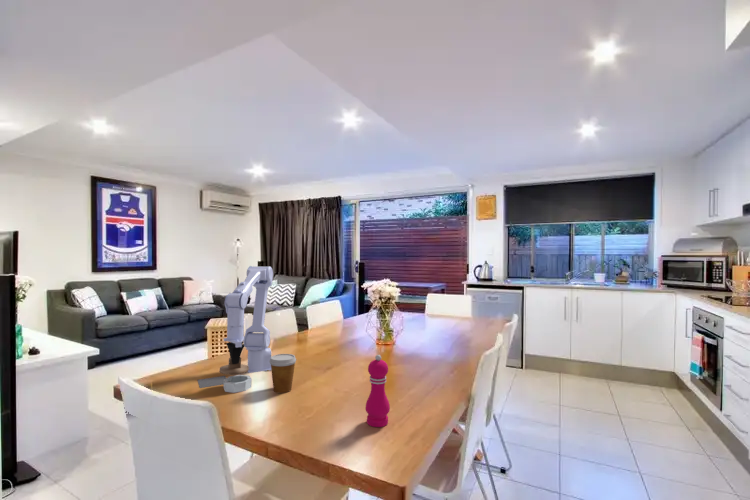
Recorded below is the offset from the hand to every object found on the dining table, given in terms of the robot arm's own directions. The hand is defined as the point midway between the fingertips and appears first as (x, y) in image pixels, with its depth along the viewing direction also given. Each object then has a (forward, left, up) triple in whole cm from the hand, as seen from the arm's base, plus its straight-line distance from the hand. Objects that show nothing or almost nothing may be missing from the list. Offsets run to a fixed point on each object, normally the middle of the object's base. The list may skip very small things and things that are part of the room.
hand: (234, 362), depth 135 cm
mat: (+6, -10, -9) cm, 15 cm away
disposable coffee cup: (-15, +10, -10) cm, 20 cm away
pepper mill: (-32, +49, -10) cm, 59 cm away
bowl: (-1, +1, -9) cm, 9 cm away
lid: (0, 0, -3) cm, 3 cm away
